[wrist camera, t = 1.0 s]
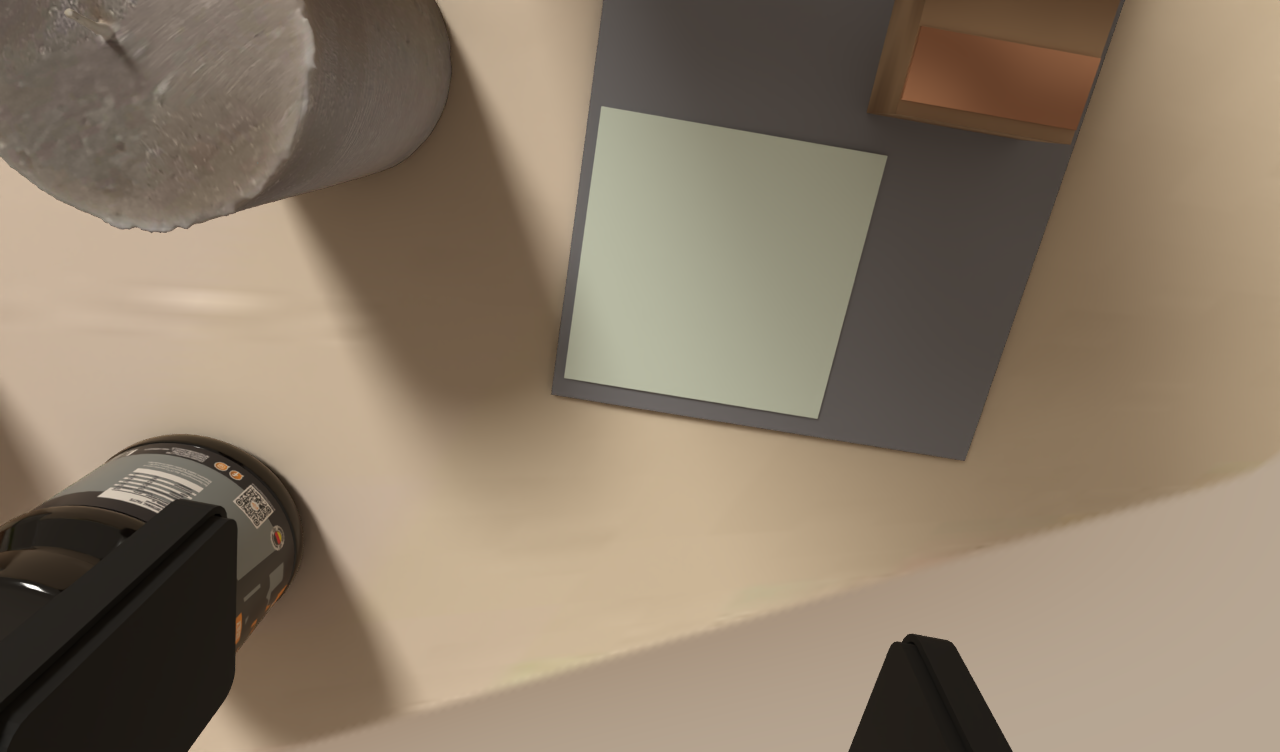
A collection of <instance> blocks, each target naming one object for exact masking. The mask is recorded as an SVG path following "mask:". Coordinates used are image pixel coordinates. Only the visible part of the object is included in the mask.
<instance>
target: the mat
mask: <svg viewBox="0 0 1280 752" xmlns="http://www.w3.org/2000/svg"><path fill="white" fill-rule="evenodd" d="M1124 1H1125V0H1120V3H1119V6H1118V9H1117V12H1116V15H1115V18H1114V20H1113V23H1112V26H1111V29H1110V32H1109V35H1108V38H1107V41H1106V44H1105V46H1104V49H1103V52H1102V55H1101V60H1100V63H1099V66H1098V69H1097V72H1096V75H1095V78H1094V81H1093V84H1092V87H1091V89H1090V92H1089V95H1088V98H1087V101H1086V104H1085V107H1084V110H1083V113H1082V115H1081V118H1080V121H1079V124H1078V127H1077V130H1075V133H1074V136H1073V139H1072V142H1071V145H1069V144H1058V143H1047V142H1037V141H1026V140H1018V139H1012V138H1006V137H1001V136H995V135H989V134H983V133H978V132H972V131H966V130H961V129H955V128H949V127H944V126H938V125H932V124H927V123H921V122H915V121H910V120H904V119H898V118H892V117H887V116H881V115H875V114H870V113H867V109H868V105H869V101H870V97H871V93H872V89H873V85H874V81H875V77H876V73H877V69H878V65H879V61H880V57H881V53H882V49H883V45H884V41H885V38H886V34H887V30H888V26H889V22H890V18H891V14H892V10H893V6H894V2H895V0H603V8H602V15H601V23H600V31H599V38H598V46H597V53H596V61H595V68H594V76H593V83H592V91H591V99H590V106H589V114H588V121H587V129H586V136H585V144H584V151H583V159H582V166H581V174H580V182H579V189H578V197H577V204H576V212H575V219H574V227H573V234H572V242H571V250H570V257H569V265H568V272H567V280H566V287H565V295H564V302H563V310H562V317H561V325H560V333H559V340H558V348H557V355H556V363H555V370H554V378H553V385H552V393H551V395H557V396H564V397H570V398H576V399H582V400H589V401H595V402H601V403H607V404H614V405H620V406H626V407H632V408H638V409H645V410H651V411H657V412H663V413H670V414H676V415H682V416H688V417H695V418H701V419H707V420H713V421H719V422H726V423H732V424H738V425H744V426H751V427H757V428H763V429H769V430H775V431H782V432H788V433H794V434H800V435H807V436H813V437H819V438H825V439H832V440H838V441H844V442H850V443H856V444H863V445H869V446H875V447H881V448H888V449H894V450H900V451H906V452H913V453H919V454H925V455H931V456H937V457H944V458H950V459H956V460H962V461H965V459H966V456H967V453H968V450H969V448H970V445H971V442H972V439H973V436H974V433H975V430H976V427H977V424H978V422H979V419H980V416H981V413H982V410H983V407H984V404H985V401H986V399H987V396H988V393H989V390H990V387H991V384H992V381H993V378H994V376H995V373H996V370H997V367H998V364H999V361H1000V358H1001V355H1002V352H1003V350H1004V347H1005V344H1006V341H1007V338H1008V335H1009V332H1010V329H1011V327H1012V324H1013V321H1014V318H1015V315H1016V312H1017V309H1018V306H1019V304H1020V301H1021V298H1022V295H1023V292H1024V289H1025V286H1026V283H1027V280H1028V278H1029V275H1030V272H1031V269H1032V266H1033V263H1034V260H1035V257H1036V255H1037V252H1038V249H1039V246H1040V243H1041V240H1042V237H1043V234H1044V232H1045V229H1046V226H1047V223H1048V220H1049V217H1050V214H1051V211H1052V208H1053V206H1054V203H1055V200H1056V197H1057V194H1058V191H1059V188H1060V185H1061V183H1062V180H1063V177H1064V174H1065V171H1066V168H1067V165H1068V162H1069V160H1070V157H1071V154H1072V151H1073V148H1074V145H1075V142H1076V139H1077V136H1078V134H1079V131H1080V128H1081V125H1082V122H1083V119H1084V116H1085V113H1086V111H1087V108H1088V105H1089V102H1090V99H1091V96H1092V93H1093V90H1094V88H1095V85H1096V82H1097V79H1098V76H1099V73H1100V70H1101V67H1102V64H1103V62H1104V59H1105V56H1106V53H1107V50H1108V47H1109V44H1110V41H1111V39H1112V36H1113V33H1114V30H1115V27H1116V24H1117V21H1118V18H1119V16H1120V13H1121V10H1122V7H1123V4H1124Z"/></svg>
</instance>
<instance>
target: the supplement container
mask: <svg viewBox="0 0 1280 752" xmlns="http://www.w3.org/2000/svg"><path fill="white" fill-rule="evenodd" d="M176 499H187V500H192V501H198V502H203V503H208V504H214V505H219V506H222V507H223V508H225V510H226V513H227V518H230V519H234V520H235V521H236V523H237V528H238V538H237V592H236V646H235V654H236V652H237V651H238V650H239V648H240V647H241V646H242V645H243V643H244V642H245V641H246V639H247V638H248V637H249V636H250V634H251V633H252V632H253V630H254V629H255V628H256V626H257V625H258V624H259V623H260V621H261V620H262V619H263V617H264V616H265V615H266V614H267V612H268V611H269V610H270V608H271V607H272V606H273V604H274V603H275V602H277V601H278V600H279V599H280V598H281V596H282V595H283V594H284V593H285V592H286V590H287V589H288V587H289V586H290V584H291V583H292V581H293V580H294V578H295V576H296V574H297V572H298V569H299V566H300V563H301V559H302V554H303V544H304V537H303V527H302V522H301V518H300V515H299V512H298V509H297V507H296V505H295V502H294V501H293V499H292V497H291V495H290V493H289V492H288V491H287V489H286V488H285V486H284V485H283V483H282V482H281V481H280V480H279V479H278V477H277V476H276V475H275V474H274V473H273V472H272V471H271V470H270V469H269V468H268V467H266V466H265V465H264V464H263V463H262V462H260V461H259V460H257V459H256V458H255V457H253V456H252V455H250V454H248V453H247V452H245V451H243V450H242V449H239V448H237V447H235V446H233V445H231V444H228V443H226V442H223V441H220V440H217V439H213V438H210V437H205V436H199V435H190V434H172V435H162V436H158V437H153V438H149V439H146V440H143V441H140V442H137V443H135V444H133V445H131V446H128V447H127V448H125V449H123V450H122V451H120V452H118V453H117V454H115V455H114V456H113V457H111V458H110V459H109V460H108V461H106V462H105V463H104V464H103V465H102V466H100V467H99V468H97V469H95V470H94V471H92V472H91V473H89V474H88V475H86V476H85V477H83V478H81V479H80V480H78V481H77V482H75V483H74V484H72V485H71V486H69V487H67V488H66V489H64V490H63V491H61V492H60V493H58V494H57V495H55V496H54V497H52V498H50V499H49V500H47V501H46V502H44V503H43V504H41V505H40V506H38V507H36V508H35V509H33V510H32V511H30V512H29V513H26V514H23V515H21V516H18V517H16V518H14V519H12V520H10V521H9V522H7V523H5V524H4V525H2V526H0V642H1V641H2V640H3V639H4V638H6V637H7V636H8V635H9V634H10V633H12V632H13V631H14V630H15V629H16V628H18V627H19V626H20V625H21V624H23V623H24V622H25V621H26V620H27V619H29V618H30V617H31V616H32V615H33V614H35V613H36V612H37V611H38V610H40V609H41V608H42V607H43V606H44V605H46V604H47V603H48V602H49V601H50V600H52V599H53V598H54V597H55V596H57V595H58V594H59V593H61V592H62V591H64V590H65V589H67V588H68V587H69V586H70V585H72V584H73V583H74V582H75V581H76V580H78V579H79V578H80V577H81V576H82V575H84V574H85V573H86V572H87V571H89V570H90V569H91V568H92V567H93V566H95V565H96V564H97V563H98V562H99V561H101V560H102V559H103V558H104V557H105V556H107V555H108V554H109V553H110V552H112V551H113V550H114V549H115V548H116V547H118V546H119V545H120V544H121V543H122V542H124V541H125V540H126V539H127V538H128V537H130V536H131V535H132V534H133V533H135V532H136V531H137V530H138V529H139V528H141V527H142V526H143V525H144V524H145V523H147V522H148V521H149V520H150V519H151V518H153V517H154V516H155V515H156V514H158V513H159V512H160V511H161V510H162V509H164V508H165V507H166V506H167V505H168V504H170V503H171V502H173V501H174V500H176Z"/></svg>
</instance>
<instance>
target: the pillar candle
mask: <svg viewBox="0 0 1280 752" xmlns="http://www.w3.org/2000/svg"><path fill="white" fill-rule="evenodd" d="M451 74H452V66H451V59H450V42H449V37H448V33H447V30H446V27H445V24H444V21H443V18H442V15H441V13H440V10H439V8H438V6H437V4H436V2H435V0H0V157H2V158H3V159H4V160H5V161H6V162H7V163H8V164H9V166H10V167H12V168H13V169H15V170H16V171H18V172H19V173H20V174H21V175H22V176H24V177H26V178H27V179H28V180H29V181H30V182H32V183H33V184H35V185H36V186H37V187H38V188H39V189H41V190H42V191H45V192H46V193H48V194H49V195H51V196H53V197H54V198H55V199H57V200H60V201H62V202H64V203H66V204H68V205H70V206H73V207H75V208H76V209H78V210H81V211H83V212H86V213H89V214H91V215H93V216H96V217H98V218H101V219H102V220H103V221H104V222H105V223H109V224H110V225H111V226H114V227H117V228H119V229H131V228H134V227H138V228H140V229H141V230H145V231H149V232H151V233H152V232H160V233H161V232H163V233H166V232H170V231H172V230H174V229H175V228H176V227H182V228H184V229H188V228H189V227H191V226H192V225H194V224H198V223H203V222H206V221H208V220H211V219H215V218H218V217H221V216H228V215H229V214H233V213H236V212H238V211H241V210H245V209H248V208H252V207H256V206H259V205H262V204H267V203H271V202H275V201H278V200H281V199H285V198H288V197H292V196H296V195H300V194H304V193H309V192H312V191H316V190H319V189H323V188H326V187H330V186H333V185H337V184H340V183H343V182H347V181H350V180H354V179H358V178H361V177H364V176H367V175H370V174H374V173H377V172H380V171H382V170H385V169H388V168H391V167H393V166H395V165H397V164H399V163H400V162H402V161H403V160H405V159H406V158H407V157H409V156H410V155H411V154H412V153H413V152H414V151H415V150H416V149H417V148H418V147H419V146H420V145H421V144H422V143H423V142H424V141H425V140H426V139H427V138H428V136H429V135H430V133H431V132H432V130H433V129H434V127H435V125H436V123H437V122H438V120H439V118H440V116H441V114H442V112H443V109H444V106H445V104H446V101H447V96H448V91H449V87H450V80H451Z"/></svg>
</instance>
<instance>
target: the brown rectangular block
mask: <svg viewBox="0 0 1280 752" xmlns="http://www.w3.org/2000/svg"><path fill="white" fill-rule="evenodd" d="M1119 3H1120V0H895V2H894V6H893V10H892V14H891V18H890V22H889V26H888V30H887V34H886V38H885V41H884V45H883V49H882V53H881V57H880V61H879V65H878V69H877V73H876V77H875V81H874V85H873V89H872V93H871V97H870V101H869V105H868V109H867V113H870V114H875V115H881V116H887V117H892V118H898V119H904V120H910V121H915V122H921V123H927V124H932V125H938V126H944V127H949V128H955V129H961V130H966V131H972V132H978V133H983V134H989V135H995V136H1001V137H1006V138H1012V139H1018V140H1026V141H1037V142H1047V143H1058V144H1069V145H1071V142H1072V139H1073V136H1074V133H1075V130H1077V127H1078V124H1079V121H1080V118H1081V115H1082V113H1083V110H1084V107H1085V104H1086V101H1087V98H1088V95H1089V92H1090V89H1091V87H1092V84H1093V81H1094V78H1095V75H1096V72H1097V69H1098V66H1099V63H1100V60H1101V55H1102V52H1103V49H1104V46H1105V44H1106V41H1107V38H1108V35H1109V32H1110V29H1111V26H1112V23H1113V20H1114V18H1115V15H1116V12H1117V9H1118V6H1119Z"/></svg>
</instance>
